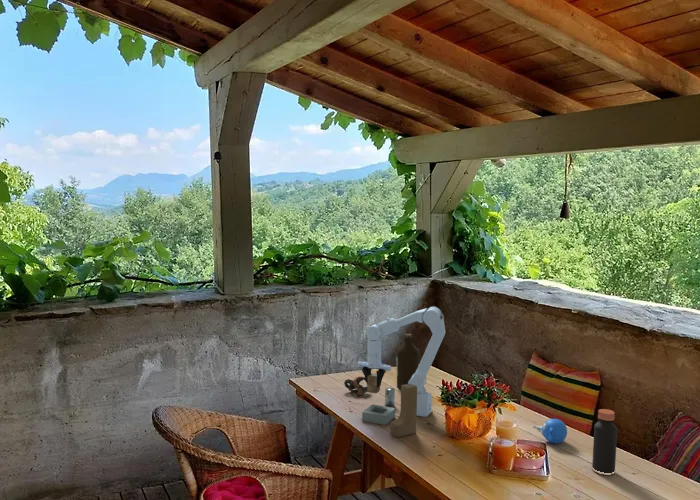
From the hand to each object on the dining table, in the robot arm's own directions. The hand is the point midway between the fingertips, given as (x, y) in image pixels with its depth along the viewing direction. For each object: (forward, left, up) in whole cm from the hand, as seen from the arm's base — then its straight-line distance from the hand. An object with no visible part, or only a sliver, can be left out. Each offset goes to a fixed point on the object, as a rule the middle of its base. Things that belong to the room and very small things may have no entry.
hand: (373, 385), depth 252 cm
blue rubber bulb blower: (-71, +3, -10) cm, 72 cm away
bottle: (-90, +21, -10) cm, 93 cm away
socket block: (-7, +11, -9) cm, 16 cm away
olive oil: (-3, -33, -10) cm, 34 cm away
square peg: (0, 0, -2) cm, 2 cm away
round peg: (-5, -6, -9) cm, 12 cm away
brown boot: (-21, +21, -10) cm, 31 cm away
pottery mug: (+14, -15, -10) cm, 23 cm away
